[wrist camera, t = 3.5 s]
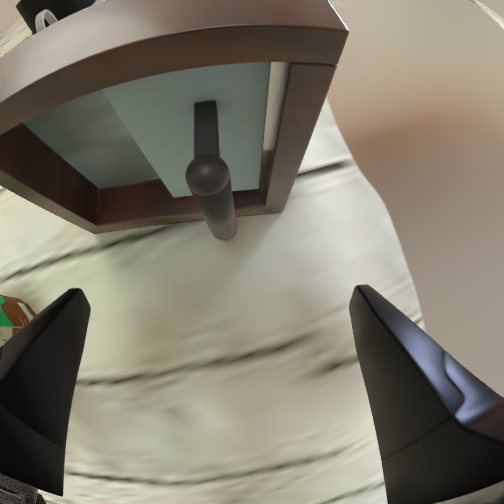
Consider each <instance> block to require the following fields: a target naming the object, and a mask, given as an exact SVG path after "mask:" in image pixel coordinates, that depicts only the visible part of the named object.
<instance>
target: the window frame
mask: <svg viewBox="0 0 504 504" xmlns="http://www.w3.org/2000/svg"><path fill="white" fill-rule="evenodd" d="M348 34H349V30H348V28H347V27H346V25H345V24H344V22H343V21H342V19H341V18H340V16H339V15H338V13H337V12H336V10H335V9H334V8H333V6H332V5H331V4H330V2H329V1H328V0H105V1H102V2H99V3H97V4H94V5H92V6H90V7H87V8H85V9H83V10H80V11H78V12H76V13H74V14H72V15H70V16H68V17H65V18H63V19H61V20H60V21H58V22H56V23H54V24H52V25H50V26H48V27H46V28H45V29H43V30H41V31H40V32H38V33H36V34H34V35H33V36H31V37H30V38H28V39H26V40H25V41H23V42H22V43H20V44H19V45H17V46H16V47H14V48H13V49H11V50H10V51H9V52H7V53H6V54H4V55H3V56H2V57H0V185H1V186H2V187H4V188H6V189H8V190H10V191H11V192H13V193H15V194H17V195H19V196H21V197H22V198H24V199H26V200H28V201H30V202H32V203H34V204H36V205H38V206H39V207H41V208H43V209H45V210H47V211H49V212H51V213H53V214H55V215H57V216H59V217H61V218H63V219H65V220H67V221H69V222H71V223H73V224H75V225H77V226H79V227H81V228H83V229H85V230H87V231H89V232H91V233H94V234H96V233H103V232H109V231H116V230H123V229H131V228H138V227H146V226H154V225H162V224H171V223H179V222H188V221H197V220H205V218H204V216H203V214H202V213H201V211H200V209H199V207H198V205H197V203H196V201H195V199H194V197H193V195H191V196H183V197H175V198H174V197H173V196H172V194H171V193H170V192H169V190H168V189H167V187H166V186H165V184H164V183H163V181H162V180H161V178H160V177H159V176H158V174H157V173H156V171H155V170H154V168H153V167H152V165H151V164H150V162H149V161H148V159H147V158H146V156H145V155H144V153H143V152H142V150H141V149H140V147H139V146H138V144H137V143H136V141H135V140H134V138H133V137H132V135H131V134H130V132H129V131H128V129H127V128H126V126H125V125H124V123H123V122H122V120H121V119H120V117H119V115H118V114H117V112H116V111H115V109H114V108H113V106H112V105H111V103H110V101H109V100H108V98H107V97H106V95H105V93H104V92H103V90H102V89H105V88H108V87H112V86H115V85H118V84H122V83H125V82H129V81H133V80H137V79H141V78H145V77H149V76H154V75H158V74H163V73H168V72H174V71H179V70H185V69H192V68H199V67H206V66H215V65H225V64H237V63H255V62H271V70H270V80H269V90H268V101H267V111H266V121H265V131H264V142H263V152H262V162H261V173H260V183H259V189H250V190H239V191H232V195H233V202H234V209H235V215H236V217H237V216H248V215H260V214H273V213H282V212H283V210H284V207H285V204H286V202H287V199H288V197H289V194H290V191H291V189H292V186H293V184H294V181H295V178H296V176H297V173H298V170H299V168H300V165H301V162H302V160H303V157H304V155H305V152H306V149H307V147H308V144H309V141H310V139H311V136H312V133H313V130H314V128H315V125H316V122H317V120H318V117H319V114H320V112H321V109H322V106H323V103H324V101H325V98H326V95H327V92H328V90H329V87H330V84H331V81H332V78H333V75H334V73H335V70H336V68H337V64H338V62H339V59H340V56H341V53H342V51H343V48H344V45H345V42H346V39H347V36H348Z"/></svg>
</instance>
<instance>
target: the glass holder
mask: <svg viewBox="0 0 504 504" xmlns="http://www.w3.org/2000/svg"><path fill="white" fill-rule="evenodd" d="M102 1H104V0H21V1H20V2H19V3H18V4H17V5H16V8H17V9H18V11H19V12H20V14H21V16H22V17H23V19H24V20H25V22H26V23H27V25H28V26H29V28H30V29H31V31H32V35H34V34H36V33H38V32H40V31H41V30H43V29H45V28H46V27H48V26H50V25H52V24H54V23H56V22H58V21H60V20H61V19H63V18H65V17H68V16H70V15H72V14H74V13H76V12H78V11H80V10H83V9H85V8H87V7H90V6H92V5H94V4H97V3H99V2H102Z"/></svg>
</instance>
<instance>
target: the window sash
mask: <svg viewBox="0 0 504 504" xmlns="http://www.w3.org/2000/svg"><path fill="white" fill-rule="evenodd" d="M270 70H271V62H255V63H237V64H225V65H215V66H206V67H199V68H192V69H185V70H179V71H174V72H168V73H163V74H158V75H154V76H149V77H145V78H141V79H137V80H133V81H129V82H125V83H122V84H118V85H115V86H112V87H108V88H105V89H102V90H103V92H104V93H105V95H106V97H107V98H108V100H109V101H110V103H111V105H112V106H113V108H114V109H115V111H116V112H117V114H118V115H119V117H120V119H121V120H122V122H123V123H124V125H125V126H126V128H127V129H128V131H129V132H130V134H131V135H132V137H133V138H134V140H135V141H136V143H137V144H138V146H139V147H140V149H141V150H142V152H143V153H144V155H145V156H146V158H147V159H148V161H149V162H150V164H151V165H152V167H153V168H154V170H155V171H156V173H157V174H158V176H159V177H160V178H161V180H162V181H163V183H164V184H165V186H166V187H167V189H168V190H169V192H170V193H171V194H172V196H173V197H174V198H175V197H183V196H191V195H193V197H194V199H195V201H196V203H197V205H198V207H199V209H200V211H201V213H202V214H203V216H204V218H205V220H206V222H207V224H208V226H209V228H210V230H211V232H212V234H213V235H214V236H215V237H216V238H217V239H219V240H229V239H231V238H232V237H233V236H234V235H235V233H236V231H237V222H236V215H235V209H234V202H233V195H232V191H239V190H250V189H259V183H260V173H261V162H262V152H263V142H264V131H265V121H266V111H267V101H268V90H269V80H270Z"/></svg>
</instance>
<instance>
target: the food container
mask: <svg viewBox="0 0 504 504" xmlns="http://www.w3.org/2000/svg"><path fill="white" fill-rule="evenodd" d="M35 316H36V314H35V313H34V312H33V310H32V309H31V308H30V306H29V305H28V304H26V303H25V302H23V301H22V300H20V299H17V298H12V297H7V296H2V295H0V347H1V346H2V345H4V343H5V342H6V341H8V340H9V339H10V338H11V337H12V336H13V335H14V334H15V333H17V332H18V331H19V330H20V329H21V328H22V327H23V326H25V325H26V324H27V323H28V322H29V321H30V320H32V319H33V318H34V317H35Z"/></svg>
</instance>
